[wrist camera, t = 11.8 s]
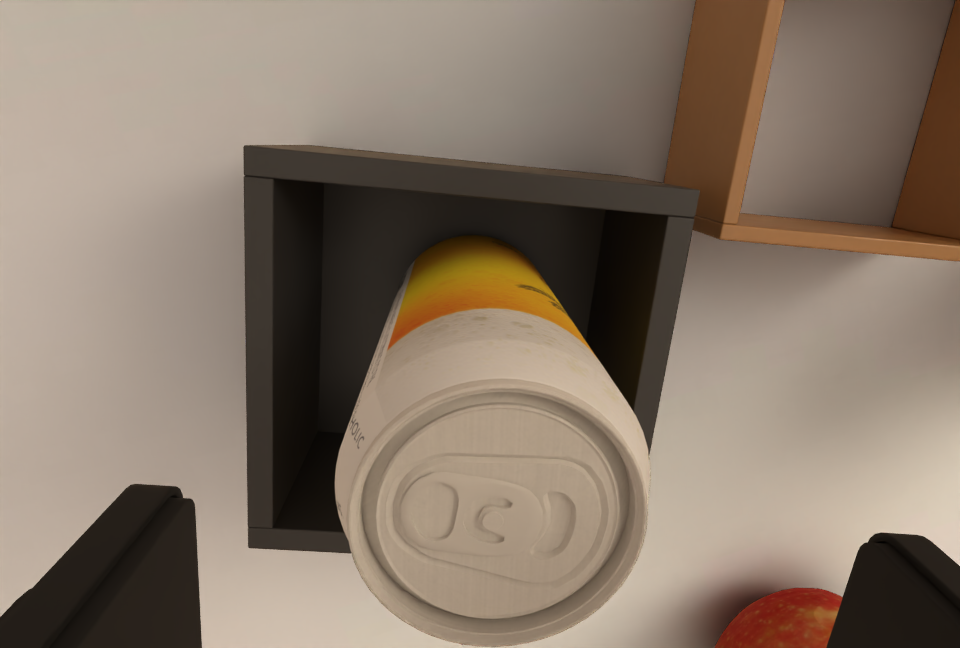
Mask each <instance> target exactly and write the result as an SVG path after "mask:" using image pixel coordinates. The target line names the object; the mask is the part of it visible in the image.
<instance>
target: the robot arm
mask: <svg viewBox="0 0 960 648" xmlns="http://www.w3.org/2000/svg"><path fill="white" fill-rule="evenodd" d="M0 648H202V642H201V621H200V600H199V579H198V558H197V537H196V516H195V504H194V502H193V500H192V499H187V498H183V495H182V492H181V490H180V489H179V488H178V487H175V486H160V485H144V484H133V485H130V486H129V487H128V488H126V489H125V490H124V491H123V492H122V493H121V494H120V496H119V497H118V498H117V499H116V500H115V501H114V502H113V503H112V504H111V505H110V506H109V507H108V508H107V509H106V510H105V511H104V513H103V514H102V515H101V516H100V517H99V518H98V519H97V520H96V521H95V522H94V523H93V524H92V525H91V526H90V527H89V528H88V530H87V531H86V532H85V533H84V534H83V535H82V536H81V537H80V538H79V539H78V540H77V541H76V542H75V543H74V544H73V545H72V547H71V548H70V549H69V550H68V551H67V552H66V553H65V554H64V555H63V556H62V557H61V558H60V559H59V560H58V561H57V562H56V564H55V565H54V566H53V567H52V568H51V569H50V570H49V571H48V572H47V573H46V574H45V575H44V576H43V577H42V578H41V579H40V581H39V582H38V583H37V584H36V585H35V586H34V587H33V588H32V589H29V590H28V591H27V592H26V593H24V594H23V595H22V596H21V597H20V598H18V599H17V600H16V601H15V602H14V603H13V604H12V606H11V607H10V608H9V609H8V610H7V611H6V612H5V613H4V614H3V615H2V616H1V617H0ZM826 648H960V566H959V565H958V564H957V563H956V562H954V561H953V560H952V559H951V558H950V557H949V556H947V555H946V554H945V553H944V552H943V551H942V550H940V549H939V548H938V547H937V546H936V545H935V544H934V543H932V542H931V541H930V540H928V539H927V538H925V537H923V536H919V535H909V534H894V533H878V534H875V535H873V536H872V537H871V538H870V539H869V541H868V543H864V544H863V545H862V546H861V547H860V548H859V550H858V553H857V556H856V559H855V562H854V565H853V568H852V571H851V574H850V577H849V580H848V583H847V586H846V589H845V592H844V595H843V598H842V601H841V604H840V607H839V610H838V613H837V616H836V619H835V622H834V625H833V628H832V632H831V635H830V638H829V641H828V644H827V647H826Z"/></svg>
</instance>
